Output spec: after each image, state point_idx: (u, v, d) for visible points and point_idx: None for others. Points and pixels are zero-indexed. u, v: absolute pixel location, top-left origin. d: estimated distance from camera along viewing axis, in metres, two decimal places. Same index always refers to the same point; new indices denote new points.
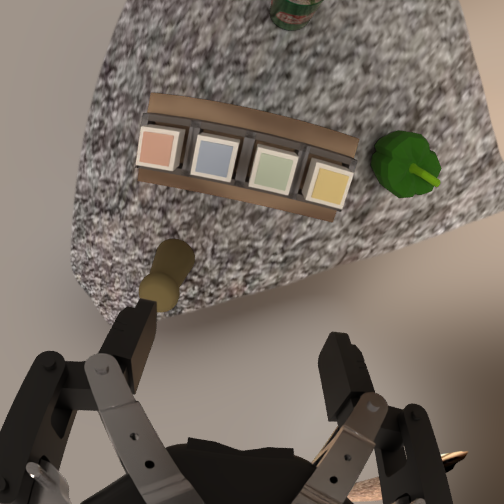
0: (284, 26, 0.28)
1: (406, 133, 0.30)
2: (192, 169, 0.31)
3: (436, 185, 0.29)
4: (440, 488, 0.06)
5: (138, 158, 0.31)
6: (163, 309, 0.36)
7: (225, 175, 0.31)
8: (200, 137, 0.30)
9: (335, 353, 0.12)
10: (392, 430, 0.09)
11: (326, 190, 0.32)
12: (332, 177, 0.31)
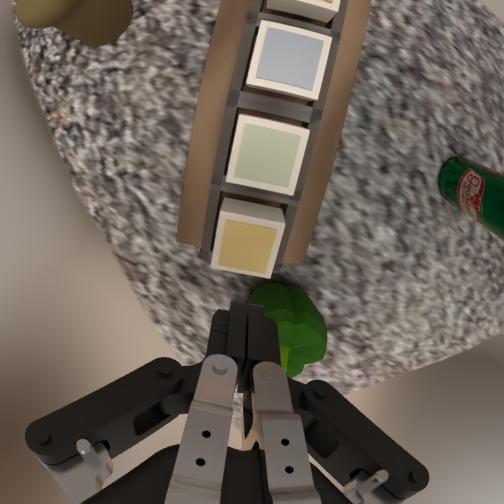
0: (449, 173, 0.23)
1: (326, 333, 0.26)
2: (270, 23, 0.14)
3: None
4: (391, 450, 0.07)
5: None
6: (19, 8, 0.09)
7: (260, 75, 0.16)
8: (327, 41, 0.15)
9: (247, 323, 0.13)
10: None
11: (240, 242, 0.21)
12: (262, 249, 0.21)
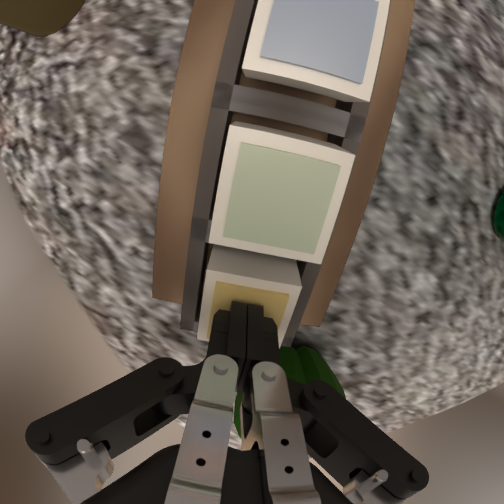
0: None
1: None
2: None
3: None
4: (390, 449, 0.07)
5: None
6: None
7: (267, 53, 0.08)
8: (383, 3, 0.07)
9: (246, 323, 0.13)
10: None
11: None
12: None
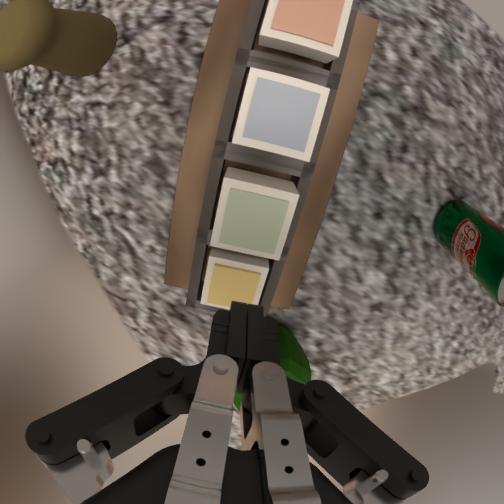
0: (445, 219, 0.24)
1: (310, 377, 0.26)
2: (260, 71, 0.14)
3: None
4: (390, 450, 0.07)
5: None
6: None
7: (247, 135, 0.15)
8: (324, 93, 0.14)
9: (246, 323, 0.13)
10: None
11: (227, 284, 0.22)
12: (247, 290, 0.23)
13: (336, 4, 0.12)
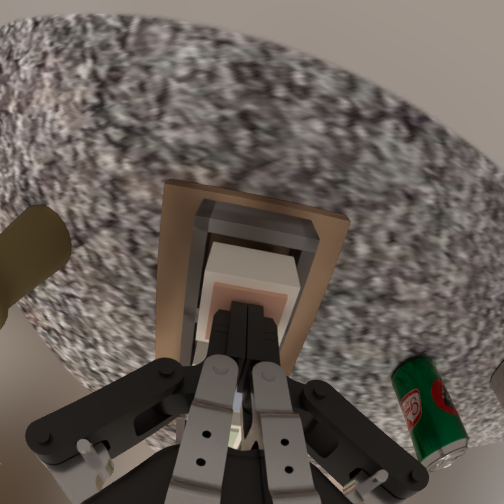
0: (400, 380, 0.26)
1: None
2: None
3: None
4: (390, 450, 0.07)
5: (221, 278, 0.14)
6: None
7: None
8: None
9: (246, 323, 0.13)
10: None
11: None
12: None
13: (275, 309, 0.14)
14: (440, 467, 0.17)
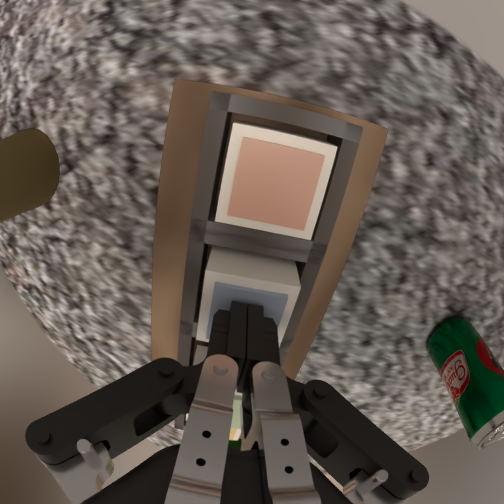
0: (438, 343, 0.22)
1: None
2: (218, 275, 0.14)
3: None
4: (390, 449, 0.07)
5: (251, 131, 0.12)
6: None
7: None
8: (294, 292, 0.14)
9: (246, 323, 0.13)
10: None
11: None
12: None
13: (311, 170, 0.12)
14: (492, 441, 0.13)
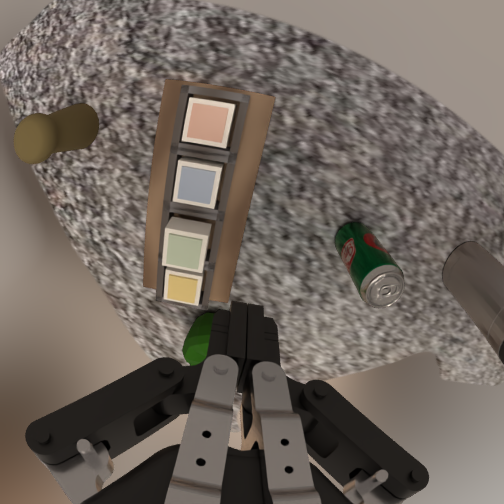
0: (339, 238, 0.36)
1: None
2: (183, 162, 0.29)
3: None
4: (390, 449, 0.07)
5: (197, 100, 0.26)
6: (17, 151, 0.21)
7: (179, 197, 0.30)
8: (219, 170, 0.29)
9: (246, 323, 0.13)
10: None
11: (177, 286, 0.35)
12: (190, 290, 0.35)
13: (222, 115, 0.26)
14: (381, 301, 0.28)
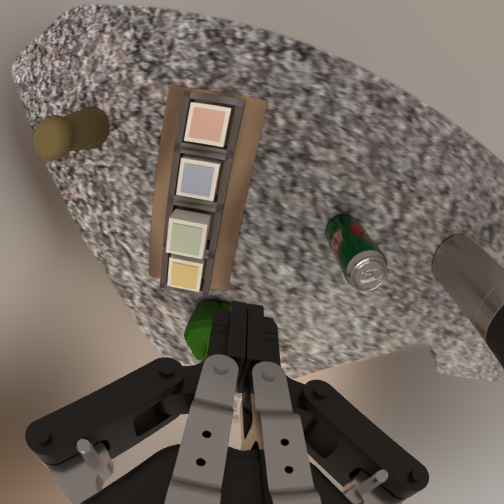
0: (329, 229, 0.39)
1: None
2: (186, 159, 0.32)
3: None
4: (390, 449, 0.07)
5: (197, 105, 0.29)
6: (36, 148, 0.25)
7: (182, 191, 0.34)
8: (217, 167, 0.33)
9: (246, 323, 0.13)
10: None
11: (180, 273, 0.39)
12: (192, 277, 0.39)
13: (220, 117, 0.30)
14: (366, 284, 0.31)
